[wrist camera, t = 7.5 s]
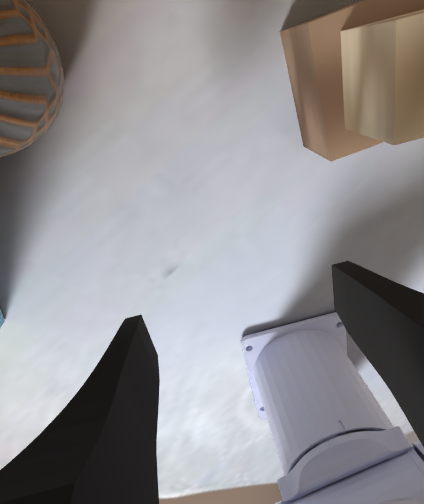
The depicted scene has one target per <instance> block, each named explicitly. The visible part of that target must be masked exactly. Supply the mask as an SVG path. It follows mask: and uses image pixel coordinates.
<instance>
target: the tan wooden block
mask: <svg viewBox="0 0 424 504" xmlns="http://www.w3.org/2000/svg"><path fill="white" fill-rule="evenodd" d="M423 9H424V0H360V1H358V2H355V3H353V4H350V5H348V6H345V7H342V8H340V9H337V10H335V11H332V12H329V13H327V14H324V15H322V16H319V17H317V18H314V19H311V20H309V21H306V22H304V23H301V24H298V25H296V26H293V27H291V28H288V29H286V30H283V31H280V34H281V38H282V43H283V48H284V53H285V58H286V63H287V68H288V73H289V77H290V82H291V87H292V92H293V97H294V102H295V107H296V112H297V116H298V121H299V126H300V131H301V136H302V141H303V146H304V147H306V148H308V149H309V150H311V151H313V152H315V153H317V154H318V155H320V156H322V157H324V158H326V159H328V160H329V161H333V160H336V159H339V158H342V157H344V156H347V155H350V154H352V153H355V152H358V151H361V150H363V149H366V148H369V147H371V146H374V145H377V144H380V143H382V142H383V141H380V140H377V139H374V138H371V137H368V136H365V135H362V134H359V133H356V132H353V131H350V130H347V129H345V121H344V99H343V77H342V56H341V34H340V31H343V30H347V29H351V28H355V27H359V26H362V25H366V24H370V23H374V22H377V21H381V20H385V19H389V18H392V17H396V16H400V15H404V14H407V13H411V12H415V11H419V10H423Z"/></svg>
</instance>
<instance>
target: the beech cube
mask: <svg viewBox="0 0 424 504" xmlns="http://www.w3.org/2000/svg"><path fill="white" fill-rule="evenodd" d="M340 34H341V56H342V77H343V99H344V121H345V129H347V130H350V131H353V132H356V133H359V134H362V135H365V136H368V137H371V138H374V139H377V140H380V141H383V142H385V143H388V144H391V145H397V144H401V143H405V142H408V141H412V140H416V139H420V138H423V137H424V9H423V10H419V11H415V12H411V13H407V14H404V15H400V16H396V17H392V18H389V19H385V20H381V21H377V22H374V23H370V24H366V25H362V26H359V27H355V28H351V29H347V30H343V31H340Z"/></svg>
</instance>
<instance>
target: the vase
mask: <svg viewBox="0 0 424 504" xmlns="http://www.w3.org/2000/svg"><path fill="white" fill-rule="evenodd" d="M63 91H64V74H63V67H62V62H61V58H60V55H59V52H58V49H57V46H56V44H55V42H54V39H53V37H52V35H51V33H50V32H49V30H48V28H47V26H46V25H45V23H44V22H43V20H42V19H41V17H40V16H39V15H38V13H37V12H36V11H35V10H34V9H33V7H32V6H31V5H30V4H29V3H28V2H27V1H26V0H0V157H3V156H7V155H10V154H13V153H15V152H18V151H20V150H22V149H24V148H26V147H28V146H29V145H31V144H32V143H34V142H35V141H36V140H38V139H39V138H40V137H41V136H42V135H43V134H44V133H45V132H46V131H47V130H48V129H49V128H50V126H51V125H52V123H53V122H54V120H55V118H56V116H57V114H58V112H59V109H60V106H61V103H62V98H63Z"/></svg>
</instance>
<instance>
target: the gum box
mask: <svg viewBox="0 0 424 504" xmlns="http://www.w3.org/2000/svg"><path fill="white" fill-rule="evenodd" d="M4 321H5V319H4V317H3V314H2V311H1V309H0V328H1V326H2V324H3V323H4Z"/></svg>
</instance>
